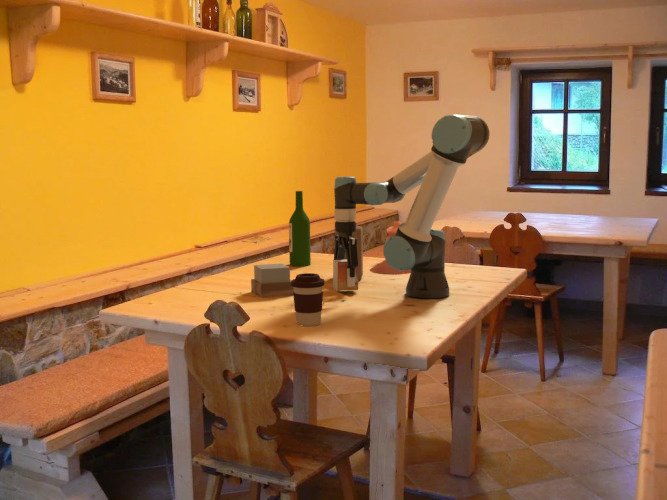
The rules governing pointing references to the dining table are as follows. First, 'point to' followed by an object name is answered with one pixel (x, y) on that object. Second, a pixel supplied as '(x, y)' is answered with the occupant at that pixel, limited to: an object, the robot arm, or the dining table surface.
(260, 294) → the tower base
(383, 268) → the ceramic vessels
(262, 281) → the tower top
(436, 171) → the robot arm
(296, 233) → the wine bottle
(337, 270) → the small box
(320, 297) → the coffee cup
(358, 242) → the block
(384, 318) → the dining table surface
